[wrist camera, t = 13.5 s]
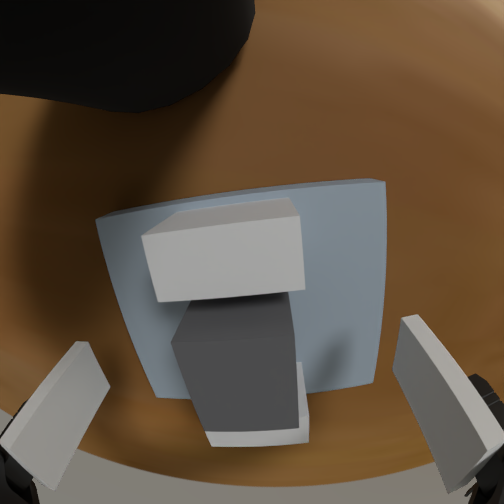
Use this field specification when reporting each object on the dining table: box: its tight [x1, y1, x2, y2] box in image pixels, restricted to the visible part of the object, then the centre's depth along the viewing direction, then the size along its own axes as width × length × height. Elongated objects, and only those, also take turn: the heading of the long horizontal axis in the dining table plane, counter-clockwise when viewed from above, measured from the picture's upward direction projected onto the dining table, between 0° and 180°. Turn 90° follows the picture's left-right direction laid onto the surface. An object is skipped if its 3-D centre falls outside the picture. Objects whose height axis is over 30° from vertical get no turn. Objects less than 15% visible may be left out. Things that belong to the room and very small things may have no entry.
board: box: [95, 178, 387, 447], centre depth 13 cm, size 14×12×6 cm
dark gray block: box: [171, 292, 299, 432], centre depth 12 cm, size 4×5×5 cm
